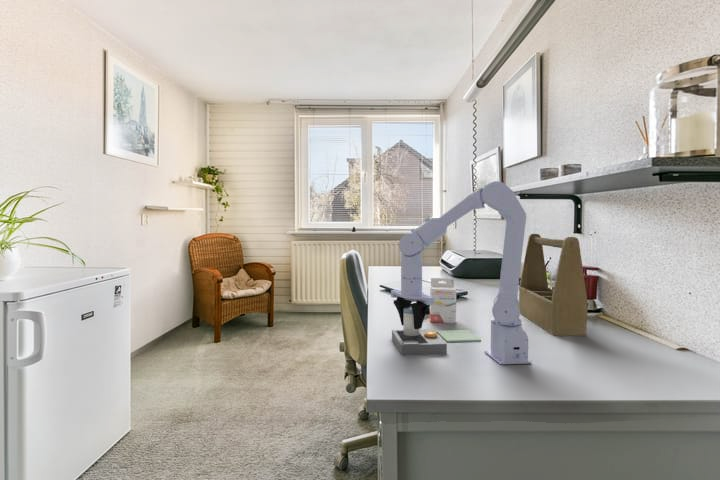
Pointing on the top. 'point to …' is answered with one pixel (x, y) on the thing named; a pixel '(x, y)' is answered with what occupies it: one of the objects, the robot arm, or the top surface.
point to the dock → (421, 348)
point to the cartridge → (409, 323)
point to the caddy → (568, 299)
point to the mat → (458, 336)
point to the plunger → (430, 334)
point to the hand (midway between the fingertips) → (411, 326)
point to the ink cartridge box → (443, 301)
